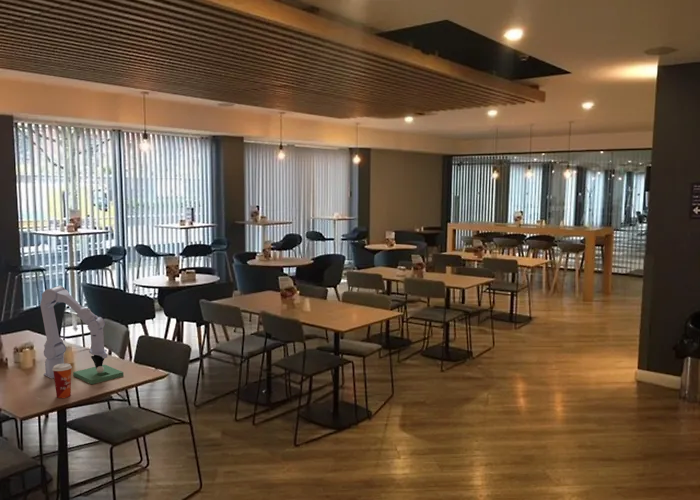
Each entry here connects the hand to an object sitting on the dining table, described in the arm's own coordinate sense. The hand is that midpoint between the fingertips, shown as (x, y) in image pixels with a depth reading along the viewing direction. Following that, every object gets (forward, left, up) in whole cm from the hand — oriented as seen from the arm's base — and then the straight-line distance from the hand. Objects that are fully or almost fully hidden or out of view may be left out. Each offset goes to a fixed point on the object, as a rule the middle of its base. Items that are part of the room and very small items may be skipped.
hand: (99, 369), depth 285 cm
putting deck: (-1, 0, -3) cm, 3 cm away
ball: (+1, 0, 0) cm, 1 cm away
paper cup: (+14, -23, -4) cm, 28 cm away
